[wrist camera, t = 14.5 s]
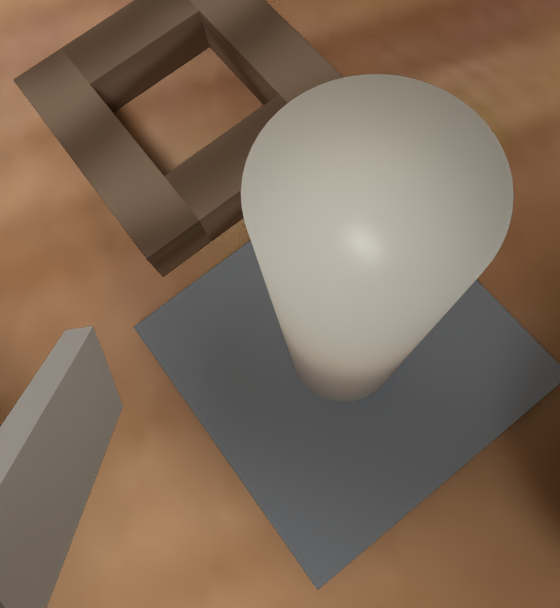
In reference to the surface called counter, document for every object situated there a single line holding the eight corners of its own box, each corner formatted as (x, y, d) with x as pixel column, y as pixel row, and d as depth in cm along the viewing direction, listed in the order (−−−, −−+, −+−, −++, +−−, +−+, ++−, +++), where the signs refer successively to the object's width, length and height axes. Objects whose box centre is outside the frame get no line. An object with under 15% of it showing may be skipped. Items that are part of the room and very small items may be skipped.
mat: (563, 377, 22) (569, 375, 22) (317, 586, 21) (317, 590, 20) (358, 165, 26) (359, 159, 26) (138, 329, 25) (133, 326, 24)
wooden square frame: (362, 130, 27) (366, 98, 24) (162, 276, 25) (146, 258, 23) (221, -12, 30) (212, -51, 28) (38, 110, 29) (13, 79, 26)
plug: (414, 359, 23) (574, 200, 8) (334, 423, 22) (357, 374, 8) (348, 283, 24) (387, 31, 10) (271, 343, 23) (190, 172, 9)
